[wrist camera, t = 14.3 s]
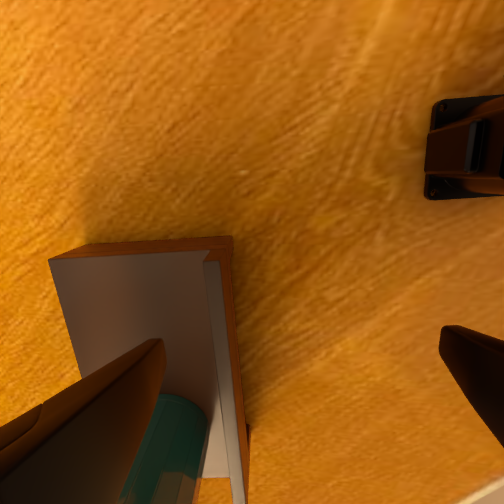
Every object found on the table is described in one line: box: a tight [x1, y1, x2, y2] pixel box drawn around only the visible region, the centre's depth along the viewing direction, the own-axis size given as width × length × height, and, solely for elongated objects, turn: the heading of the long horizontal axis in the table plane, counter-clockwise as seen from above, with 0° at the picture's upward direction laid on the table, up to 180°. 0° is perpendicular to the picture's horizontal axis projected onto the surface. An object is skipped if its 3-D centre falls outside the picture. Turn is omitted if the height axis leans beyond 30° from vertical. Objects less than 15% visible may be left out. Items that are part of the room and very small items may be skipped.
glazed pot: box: [117, 394, 210, 504], centre depth 18 cm, size 7×7×8 cm
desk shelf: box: [48, 236, 251, 504], centre depth 21 cm, size 12×20×6 cm, turn 4°
